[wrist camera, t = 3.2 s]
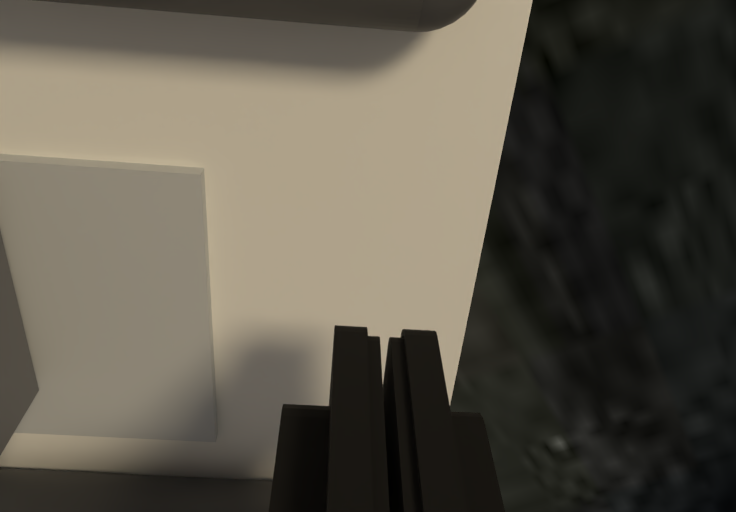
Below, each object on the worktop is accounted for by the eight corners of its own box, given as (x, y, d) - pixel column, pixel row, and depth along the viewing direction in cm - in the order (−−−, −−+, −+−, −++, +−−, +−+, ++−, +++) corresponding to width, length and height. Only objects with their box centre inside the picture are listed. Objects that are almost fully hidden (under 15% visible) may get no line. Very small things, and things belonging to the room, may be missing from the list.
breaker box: (499, -148, 14) (606, -149, 8) (411, 402, 22) (430, 603, 16) (-507, -248, 13) (-1262, -337, 7) (-202, 370, 21) (-422, 573, 15)
